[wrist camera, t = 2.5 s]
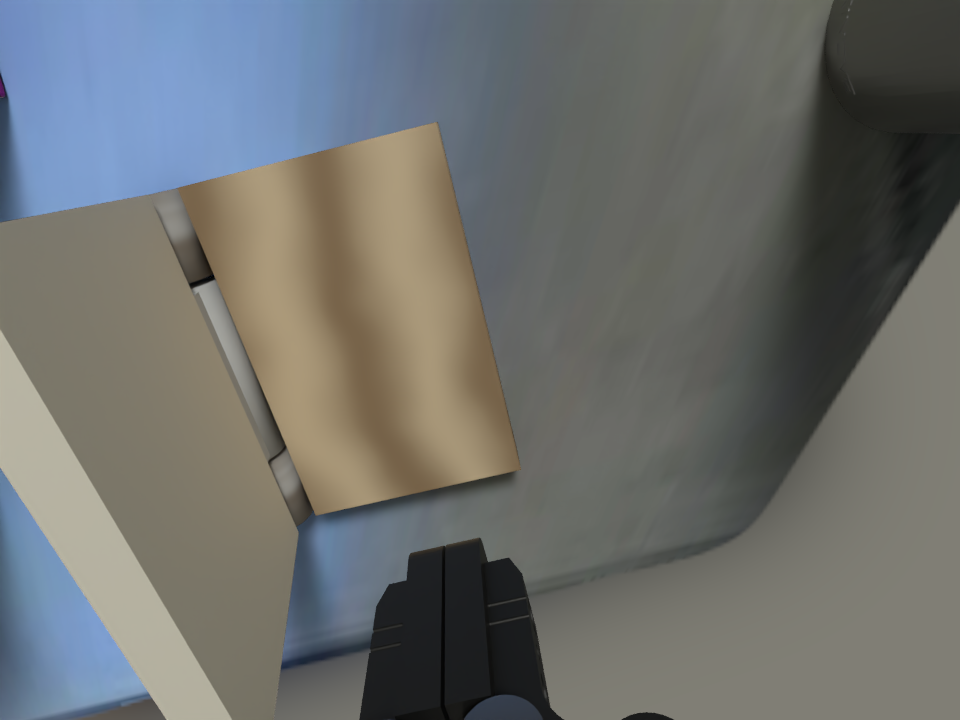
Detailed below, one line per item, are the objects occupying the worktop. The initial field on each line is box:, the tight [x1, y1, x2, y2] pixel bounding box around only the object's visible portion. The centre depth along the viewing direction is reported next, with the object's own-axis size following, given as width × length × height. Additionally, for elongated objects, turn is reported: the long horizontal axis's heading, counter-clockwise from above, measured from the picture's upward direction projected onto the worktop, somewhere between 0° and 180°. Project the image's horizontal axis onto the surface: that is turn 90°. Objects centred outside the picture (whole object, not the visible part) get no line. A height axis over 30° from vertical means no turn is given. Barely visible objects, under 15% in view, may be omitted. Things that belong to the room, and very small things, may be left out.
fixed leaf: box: [149, 122, 521, 527], centre depth 28 cm, size 15×18×3 cm
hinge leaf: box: [0, 195, 299, 720], centre depth 22 cm, size 16×18×3 cm
